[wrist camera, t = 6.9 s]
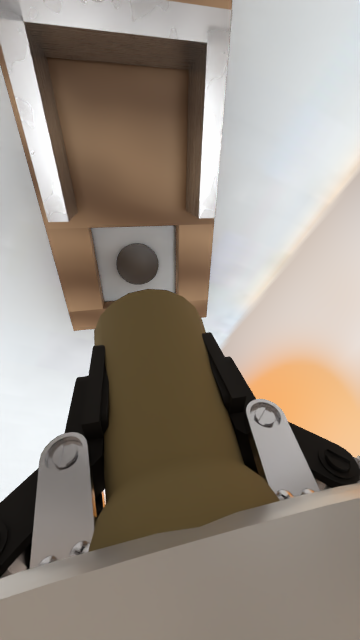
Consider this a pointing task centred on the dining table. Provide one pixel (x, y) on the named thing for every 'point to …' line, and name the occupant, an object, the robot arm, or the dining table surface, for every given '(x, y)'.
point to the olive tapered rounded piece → (166, 425)
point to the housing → (122, 48)
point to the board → (123, 175)
